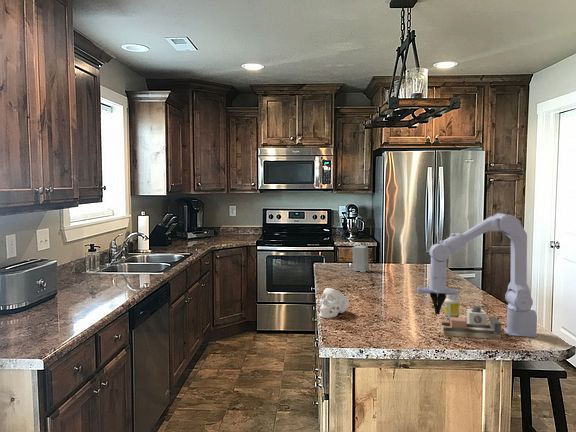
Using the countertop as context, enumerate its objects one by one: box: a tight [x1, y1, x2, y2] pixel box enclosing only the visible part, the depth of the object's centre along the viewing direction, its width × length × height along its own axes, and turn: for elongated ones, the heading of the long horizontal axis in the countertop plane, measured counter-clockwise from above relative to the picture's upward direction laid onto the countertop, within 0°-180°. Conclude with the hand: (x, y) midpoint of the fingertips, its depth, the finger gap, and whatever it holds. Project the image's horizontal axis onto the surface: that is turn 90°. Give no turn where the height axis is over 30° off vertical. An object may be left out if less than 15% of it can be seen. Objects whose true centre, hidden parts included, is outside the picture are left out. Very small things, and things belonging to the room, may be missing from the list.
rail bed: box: [440, 316, 502, 340], centre depth 171 cm, size 19×9×6 cm, turn 78°
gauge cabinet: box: [466, 308, 487, 325], centre depth 180 cm, size 6×6×6 cm
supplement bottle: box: [444, 295, 460, 320], centre depth 191 cm, size 5×5×10 cm
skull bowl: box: [318, 287, 350, 319], centre depth 196 cm, size 10×14×12 cm
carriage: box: [449, 317, 467, 329], centre depth 172 cm, size 5×5×3 cm
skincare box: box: [351, 245, 370, 273], centre depth 294 cm, size 8×7×16 cm
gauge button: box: [472, 306, 482, 313], centre depth 181 cm, size 3×3×5 cm
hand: (437, 313), depth 173 cm, fingers closed
